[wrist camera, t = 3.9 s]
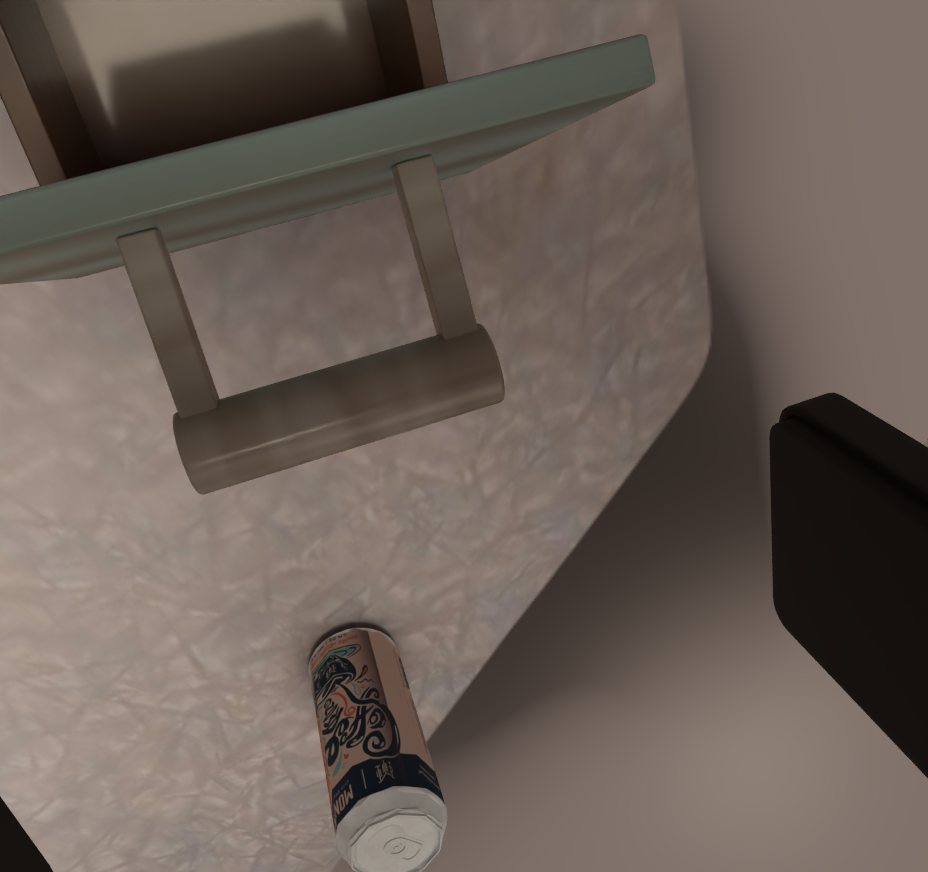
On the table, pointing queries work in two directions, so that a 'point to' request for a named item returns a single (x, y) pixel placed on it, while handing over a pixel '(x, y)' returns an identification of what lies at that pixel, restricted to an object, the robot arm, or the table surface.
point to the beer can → (375, 755)
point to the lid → (296, 196)
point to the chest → (196, 71)
